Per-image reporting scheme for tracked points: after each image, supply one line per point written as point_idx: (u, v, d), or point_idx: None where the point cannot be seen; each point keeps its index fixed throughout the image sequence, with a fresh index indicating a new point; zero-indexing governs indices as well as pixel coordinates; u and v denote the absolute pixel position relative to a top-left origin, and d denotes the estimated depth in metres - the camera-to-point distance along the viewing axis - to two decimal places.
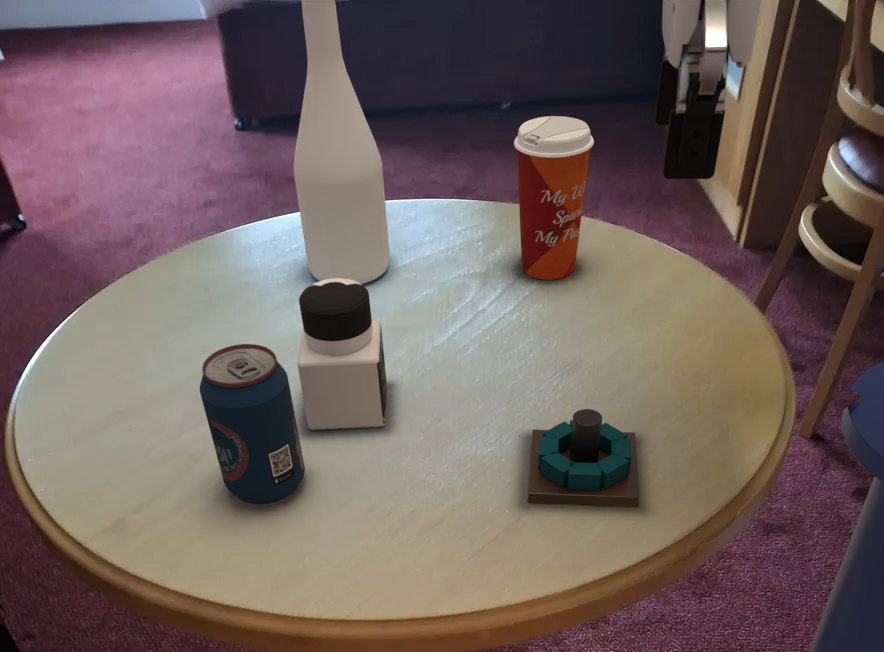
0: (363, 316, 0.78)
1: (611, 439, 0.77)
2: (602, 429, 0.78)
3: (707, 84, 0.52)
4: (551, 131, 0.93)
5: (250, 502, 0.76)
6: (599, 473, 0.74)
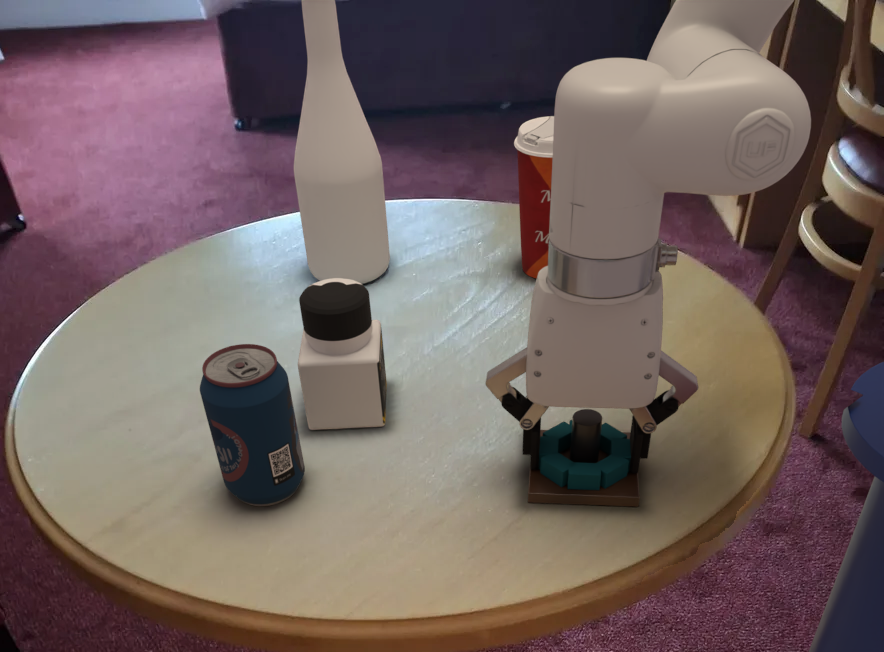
0: (363, 316, 0.78)
1: (611, 439, 0.77)
2: (602, 429, 0.78)
3: None
4: (551, 131, 0.93)
5: (250, 502, 0.76)
6: (599, 473, 0.74)
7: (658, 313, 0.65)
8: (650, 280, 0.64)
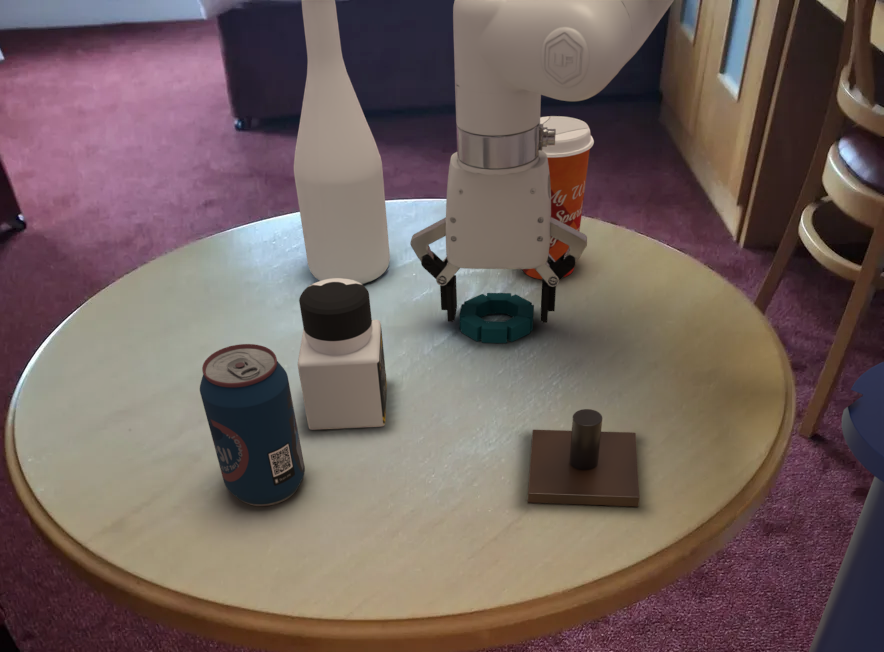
0: (363, 316, 0.78)
1: (518, 305, 0.95)
2: (512, 298, 0.96)
3: None
4: None
5: (250, 502, 0.76)
6: (505, 328, 0.92)
7: (543, 184, 0.83)
8: (535, 156, 0.82)
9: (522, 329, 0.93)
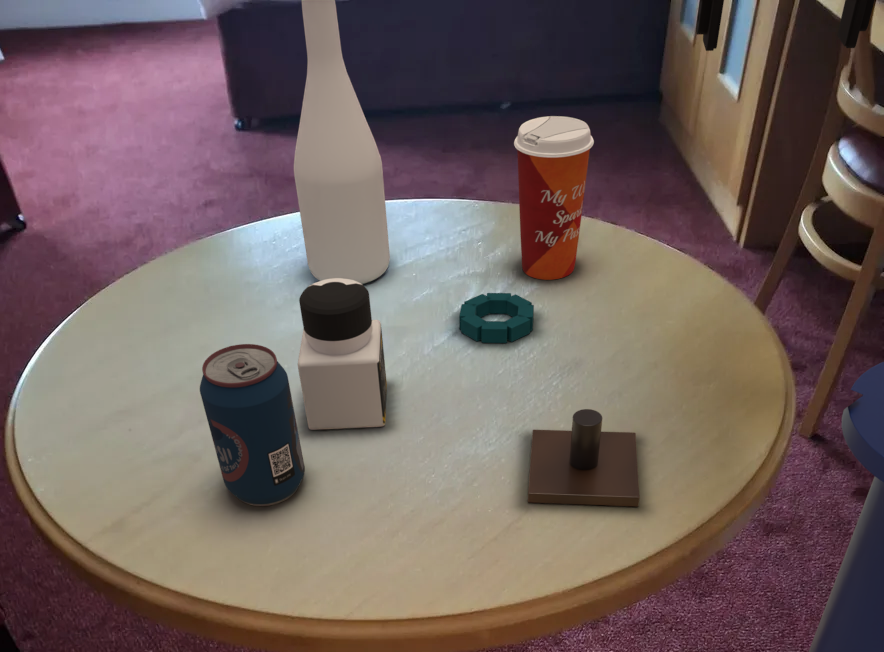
0: (363, 316, 0.78)
1: (518, 305, 0.95)
2: (512, 298, 0.96)
3: None
4: (551, 131, 0.93)
5: (250, 502, 0.76)
6: (505, 328, 0.92)
7: None
8: None
9: (522, 329, 0.93)
